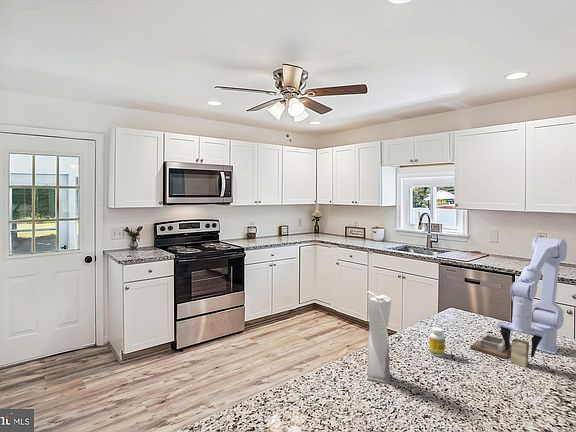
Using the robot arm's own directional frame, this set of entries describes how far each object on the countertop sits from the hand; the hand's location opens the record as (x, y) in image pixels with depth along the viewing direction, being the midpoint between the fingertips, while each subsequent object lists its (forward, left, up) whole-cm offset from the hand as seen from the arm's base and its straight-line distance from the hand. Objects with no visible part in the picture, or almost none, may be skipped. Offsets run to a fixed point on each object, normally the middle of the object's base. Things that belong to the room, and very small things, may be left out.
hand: (519, 352), depth 128 cm
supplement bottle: (+14, -24, -4) cm, 28 cm away
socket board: (-7, -10, -4) cm, 13 cm away
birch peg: (0, 0, -4) cm, 4 cm away
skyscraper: (+45, -31, -4) cm, 55 cm away
